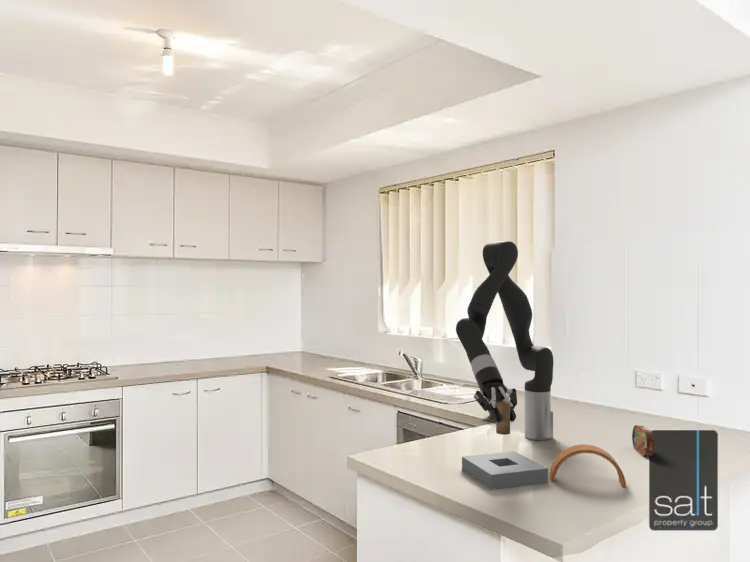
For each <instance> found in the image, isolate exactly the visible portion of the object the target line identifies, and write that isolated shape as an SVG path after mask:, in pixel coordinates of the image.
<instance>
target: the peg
mask: <svg viewBox="0 0 750 562" xmlns="http://www.w3.org/2000/svg"><path fill="white" fill-rule="evenodd" d="M496 408H498V410H499V413H500V415H501V418H502V420H501V422H500V423H497V421H495V433H496V434H497V435H504V436H505V435H510V434H511V421H510V402H508V401H497V402H496Z"/></svg>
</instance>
